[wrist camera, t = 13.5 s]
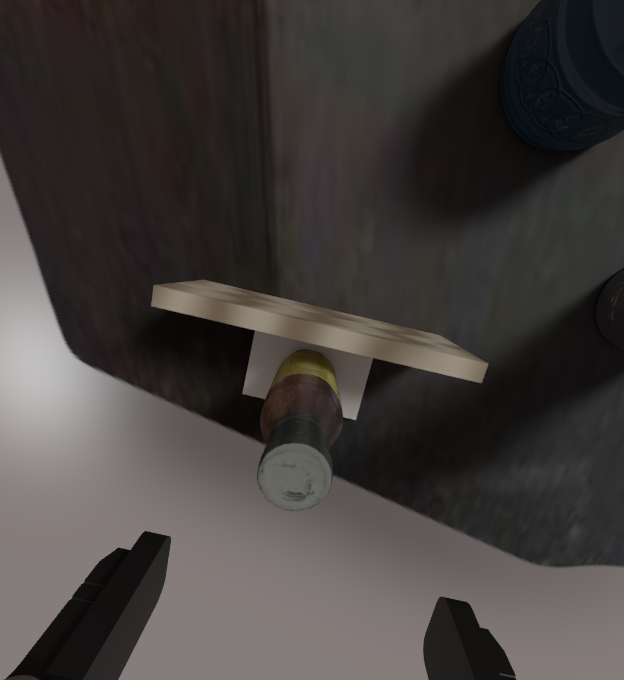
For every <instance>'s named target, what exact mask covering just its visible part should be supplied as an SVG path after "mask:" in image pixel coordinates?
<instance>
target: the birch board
mask: <svg viewBox="0 0 624 680" xmlns="http://www.w3.org/2000/svg"><path fill="white" fill-rule="evenodd" d="M151 306H153V307H158V308H162V309H166V310H170V311H175V312H179V313H183V314H188V315H192V316H196V317H200V318H205V319H209V320H213V321H218V322H222V323H226V324H230V325H235V326H239V327H243V328H247V329H252V330H256V331H260V332H265V333H269V334H273V335H277V336H282V337H286V338H290V339H294V340H299V341H303V342H307V343H312V344H316V345H320V346H324V347H329V348H333V349H337V350H341V351H346V352H350V353H354V354H359V355H363V356H367V357H371V358H376V359H380V360H384V361H389V362H393V363H397V364H401V365H406V366H410V367H414V368H418V369H423V370H427V371H431V372H436V373H440V374H444V375H448V376H453V377H457V378H461V379H465V380H470V381H474V382H478V383H482V381H483V378H484V375H485V372H486V370H487V367H488V363H486V362H485V361H483V360H481V359H479V358H478V357H476V356H474V355H473V354H471V353H469V352H468V351H466V350H464V349H462V348H461V347H459V346H457V345H456V344H454V343H452V342H450V341H449V340H447V339H445V338H444V337H442V336H440V335H436V334H432V333H427V332H423V331H419V330H415V329H410V328H406V327H402V326H398V325H393V324H389V323H385V322H381V321H376V320H372V319H368V318H364V317H359V316H355V315H351V314H347V313H342V312H338V311H334V310H330V309H326V308H321V307H317V306H313V305H309V304H304V303H300V302H296V301H292V300H287V299H283V298H279V297H275V296H270V295H266V294H262V293H258V292H253V291H249V290H245V289H241V288H236V287H232V286H228V285H224V284H219V283H215V282H211V281H207V280H198V281H188V282H179V283H170V284H161V285H154V288H153V296H152V303H151Z"/></svg>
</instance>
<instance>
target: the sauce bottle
mask: <svg viewBox="0 0 624 680" xmlns="http://www.w3.org/2000/svg"><path fill="white" fill-rule="evenodd" d="M342 425H343V412H342V406H341V400H340V394H339V389H338V384H337V379H336V374H335V370H334V368H333V366H332V364H331V363H330V361H329V360H328V359H327V358H326V357H325V356H324V355H323V354H321V353H319V352H316V351H311V350H298V351H296V352H294V353H293V354H291V355H289V356H288V357H287V358H286V359H285V360H284V361H283V362H282V363H281V366H280V367H279V369H278V371H277V373H276V375H275V377H274V380H273V382H272V384H271V387H270V389H269V391H268V393H267V396H266V398H265V402H264V405H263V408H262V412H261V418H260V426H261V432H262V435H263V438H264V439H265V442H266V444H267V446H266V447H265V450H264V452H263V454H262V457H261V460H260V463H259V467H258V471H257V479H258V484H259V486H260V489H261V491H262V493H263V494H264V496H265V498H266V499H267V500H269V502H271V503H272V504H274V505H275V506H277V507H279V508H282V509H285V510H290V511H298V510H304V509H307V508H310V507H312V506H314V505H317V504H319V503H320V502H321V501H322V500H323V499H324V498H325V497H326V496H327V494H328V493H329V491H330V487H331V484H332V477H333V464H332V458H331V456H330V453H329V451H328V450H329V448H330V447H331V446H332V445H333V444H334V443H335V442H336V440H337V439H338V437H339V435H340V433H341V430H342Z"/></svg>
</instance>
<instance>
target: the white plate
mask: <svg viewBox="0 0 624 680" xmlns="http://www.w3.org/2000/svg"><path fill="white" fill-rule="evenodd" d="M298 350H311V351H316V352H319V353H321V354H323V355H324V356H325V357H326V358H327V359H328V360H329V361H330V363H331V364H332V366H333V368H334V370H335V374H336V379H337V384H338V389H339V394H340V400H341V406H342V412H343V417H345V418H349V419H353V420H356V418H357V414H358V410H359V407H360V403H361V400H362V396H363V393H364V389H365V386H366V382H367V378H368V375H369V371H370V368H371V364H372V361H373V358H371V357H367V356H363V355H359V354H354V353H350V352H346V351H341V350H337V349H333V348H329V347H324V346H320V345H316V344H312V343H307V342H303V341H299V340H294V339H290V338H286V337H282V336H277V335H273V334H269V333H265V332H260V331H256V330H255V333H254V338H253V343H252V348H251V353H250V358H249V363H248V368H247V373H246V378H245V383H244V388H243V393H242V394H245V395H249V396H254V397H258V398H262V399H265V398H266V396H267V393H268V391H269V389H270V387H271V384H272V382H273V380H274V377H275V375H276V373H277V371H278V369H279V367H280V366H281V363H282V362H283V361H284V360H285V359H286V358H287V357H288V356H289V355H291V354H293V353H294V352H296V351H298Z"/></svg>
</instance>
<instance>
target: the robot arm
mask: <svg viewBox="0 0 624 680" xmlns="http://www.w3.org/2000/svg"><path fill="white" fill-rule="evenodd" d="M596 321H597V325H598V328H599V330H600V332H601V334H602V335H603V336H604V338H605V339H606V340H607V341H609V342H610V343H611V344H613V345H615V346H617V347H619V348H622V349H624V269H623V270H621V271H620V272H618V273H617V274H616V275H615V276H614V277H613V278H611V279H610V281H609V282H608V283H607V284H606V286H605V287H604V288H603V290H602V292H601V294H600V296H599V299H598V302H597V306H596ZM170 544H171V537H170V536H166V535H161V534H157V533H152V532H147V531H145V532H143V533H142V535H141V536H140V538H139V539H138V540H137V542H136V543H135V544H134V546H133V547H132V549H131V550H127V549H122V548H117V549H116V550H115V551H113V552H112V553H111V554H109V555H108V556H106V557H105V558H104V559H102V560H101V561H99V563H98V564H97V565H96V566H95V568H94V569H93V571H92V572H91V573H90V574H89V575H88V577H87V578H86V579H85V582H84V583H83V584H81V586H80V587H79V588H78V590H77V591H76V592H75V593H74V595H73V597H72V599H71V600H69V601H68V603H67V604H66V605H65V606H64V608H63V609H62V610H61V612H60V613H59V614H58V615H57V617H56V618H55V619H54V621H53V622H52V623H51V624H50V626H49V627H48V628H47V630H46V631H45V632H44V633H43V635H42V636H41V637H40V639H39V640H38V641H37V642H36V644H35V645H34V646H33V648H32V649H31V650H30V651H29V653H28V654H27V655H26V657H25V658H24V659H23V661H22V662H21V663H20V664H19V665H18V667H17V668H16V669H15V670H14V671H13V672H12V673H11V674H10V675H9V676H8V677H7V678H6V679H5V680H118V679H119V677H120V675H121V673H122V671H123V669H124V667H125V665H126V663H127V661H128V659H129V657H130V655H131V653H132V651H133V649H134V647H135V645H136V643H137V641H138V639H139V637H140V635H141V634H142V632H143V630H144V627H145V626H146V624H147V622H148V620H149V618H150V616H151V614H152V612H153V610H154V608H155V606H156V604H157V602H158V600H159V597H160V594H161V592H162V589H163V585H164V582H165V577H166V570H167V564H168V557H169V550H170ZM423 652H424V662H425V666H426V671H427V675H428V679H429V680H516V678H515V673H514V671H513V669H512V667H511V665H510V663H509V660H508V658H507V656H506V654H505V652H504V650H503V649H502V647H501V646H500V645H499V643H498V642H497V641H496V640H495V638H494V637H493V636H492V634H491V633H490V632H489V630H488V629H484V628H480V626H479V624H478V622H477V619H476V617H475V614H474V612H473V610H472V608H471V606H470V605H469V604H468V603H467V602H464V601H459V600H455V599H450V598H445V597H440V598H439V599H438V601H437V603H436V606H435V609H434V611H433V614H432V617H431V620H430V623H429V625H428V628H427V631H426V634H425V638H424V646H423Z"/></svg>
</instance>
